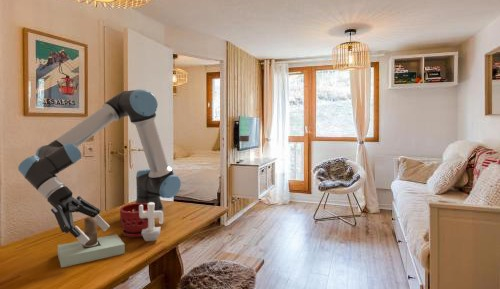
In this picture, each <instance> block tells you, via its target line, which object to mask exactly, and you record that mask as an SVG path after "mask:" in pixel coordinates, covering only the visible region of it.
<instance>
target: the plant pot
mask: <svg viewBox="0 0 500 289" xmlns="http://www.w3.org/2000/svg"><path fill="white" fill-rule="evenodd" d="M139 205H143V209H144V210H143V211H148V208H147V203H135V202H134V203H129V204H125V205H124V206H123V205H122V206H121V208H120V209H119V217H120V223H121V226H122V229H123V230H122V234H123V235H124V236H125V237H128V238H134V239H135V238H143V236H142V234H141V233H142V229H145V228H148V218H140V217H139V212H138V211H139ZM133 209H135V210H136V211H135V212H133Z"/></svg>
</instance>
